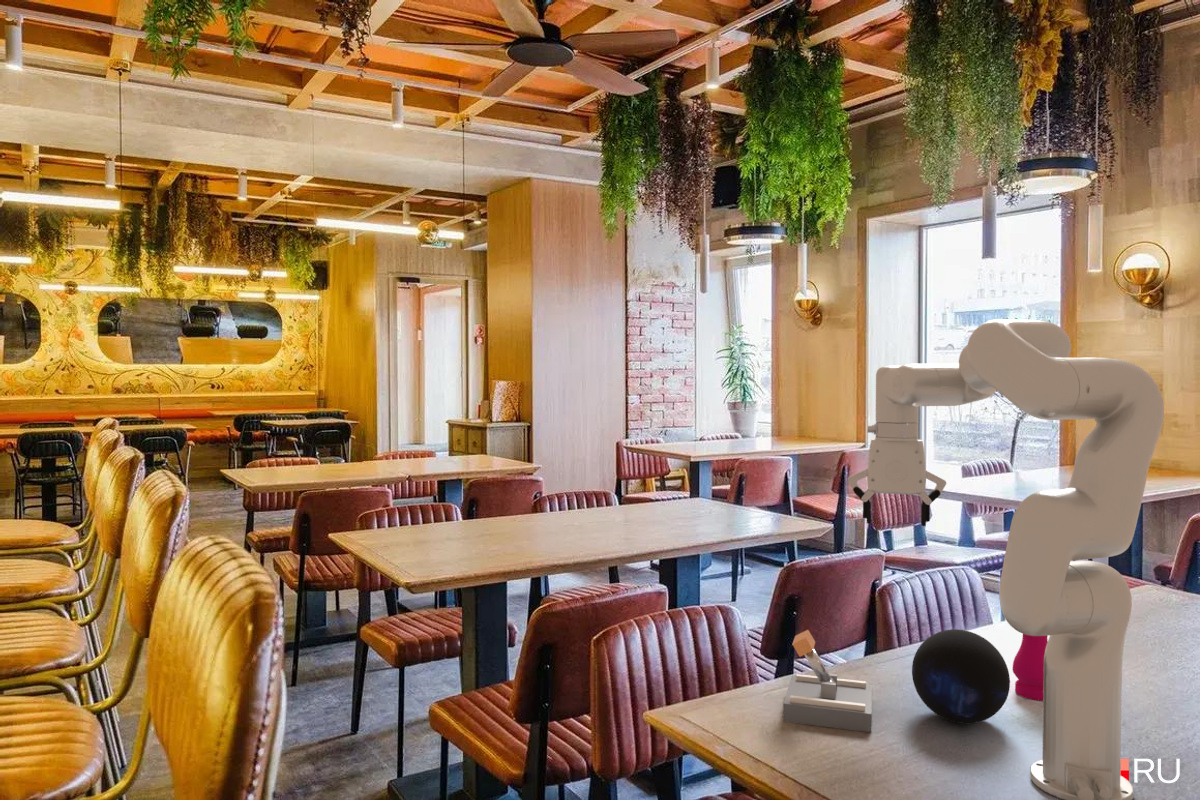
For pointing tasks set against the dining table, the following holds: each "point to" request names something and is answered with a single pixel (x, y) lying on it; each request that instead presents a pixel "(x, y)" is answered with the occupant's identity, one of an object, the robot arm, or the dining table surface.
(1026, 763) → the dining table surface
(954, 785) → the dining table surface
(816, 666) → the lever
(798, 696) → the switch panel
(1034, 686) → the pepper mill
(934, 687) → the decorative sphere
